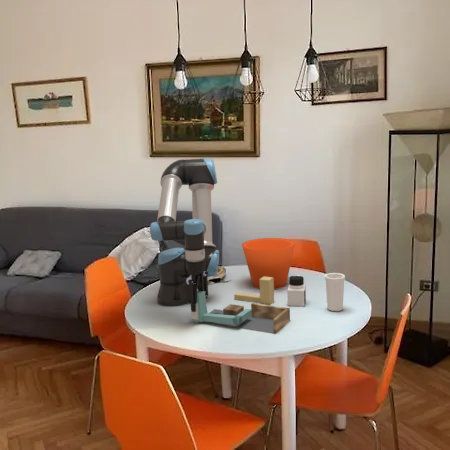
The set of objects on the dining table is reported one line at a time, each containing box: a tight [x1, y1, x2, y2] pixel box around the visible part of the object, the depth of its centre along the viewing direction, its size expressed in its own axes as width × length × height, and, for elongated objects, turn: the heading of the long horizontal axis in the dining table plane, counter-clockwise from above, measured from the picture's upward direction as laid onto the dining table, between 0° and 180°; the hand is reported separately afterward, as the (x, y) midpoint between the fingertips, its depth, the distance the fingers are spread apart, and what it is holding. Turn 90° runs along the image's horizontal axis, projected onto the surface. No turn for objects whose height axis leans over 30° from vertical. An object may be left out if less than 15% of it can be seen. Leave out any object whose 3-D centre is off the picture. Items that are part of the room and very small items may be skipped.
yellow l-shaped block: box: [233, 277, 275, 306], centre depth 230 cm, size 18×4×11 cm, turn 61°
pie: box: [207, 266, 230, 286], centre depth 269 cm, size 28×27×5 cm
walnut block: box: [222, 303, 245, 316], centre depth 209 cm, size 6×6×5 cm
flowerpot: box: [241, 237, 296, 290], centre depth 252 cm, size 25×25×20 cm
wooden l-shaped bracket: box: [250, 302, 291, 334], centre depth 203 cm, size 16×13×6 cm
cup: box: [324, 272, 346, 312], centre depth 215 cm, size 8×8×14 cm
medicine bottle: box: [286, 274, 307, 307], centre depth 224 cm, size 7×7×12 cm
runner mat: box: [198, 309, 282, 335], centre depth 208 cm, size 34×14×1 cm, turn 61°
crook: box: [189, 290, 252, 325], centre depth 207 cm, size 20×12×11 cm, turn 60°
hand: (198, 316), depth 209 cm, fingers closed on crook, 4 cm apart
